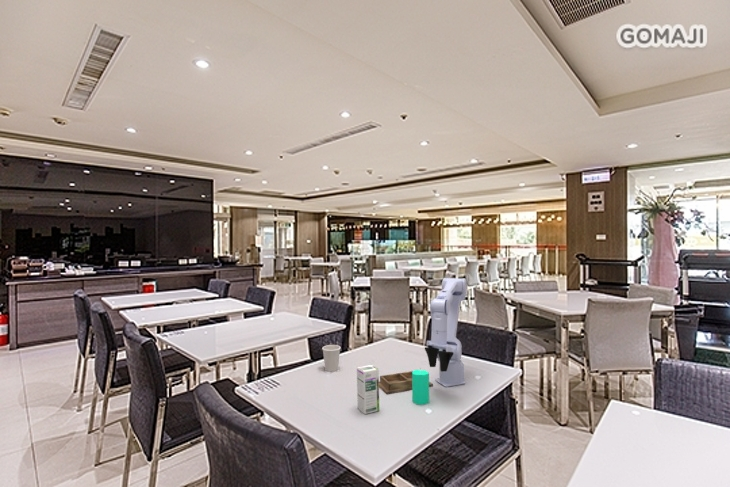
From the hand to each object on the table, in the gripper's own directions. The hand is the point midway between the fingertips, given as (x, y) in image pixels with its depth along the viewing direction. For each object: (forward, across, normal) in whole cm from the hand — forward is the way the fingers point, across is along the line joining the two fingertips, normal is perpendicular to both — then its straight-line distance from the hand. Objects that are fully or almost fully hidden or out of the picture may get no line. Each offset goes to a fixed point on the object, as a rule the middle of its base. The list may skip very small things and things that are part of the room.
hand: (438, 369), depth 136 cm
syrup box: (+14, -2, -26) cm, 29 cm away
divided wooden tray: (+10, -16, -5) cm, 19 cm away
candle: (+12, -1, -6) cm, 13 cm away
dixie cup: (+9, -45, -28) cm, 53 cm away
